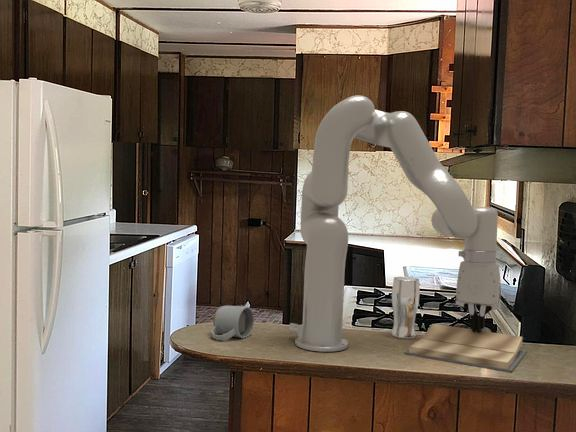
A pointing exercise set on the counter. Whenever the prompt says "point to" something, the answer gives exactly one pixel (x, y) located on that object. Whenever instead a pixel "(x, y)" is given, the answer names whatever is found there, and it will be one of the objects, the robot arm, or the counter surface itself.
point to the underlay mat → (510, 369)
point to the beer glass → (405, 306)
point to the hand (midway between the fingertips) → (477, 330)
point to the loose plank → (474, 338)
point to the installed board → (463, 353)
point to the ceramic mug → (232, 322)
